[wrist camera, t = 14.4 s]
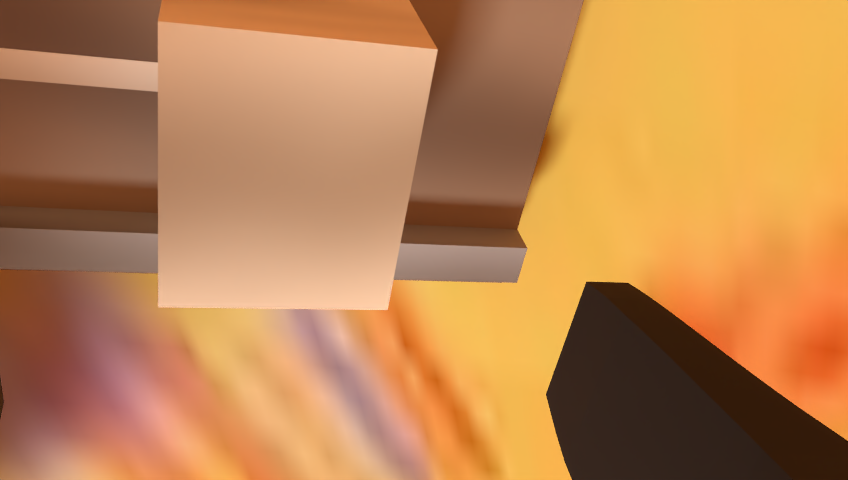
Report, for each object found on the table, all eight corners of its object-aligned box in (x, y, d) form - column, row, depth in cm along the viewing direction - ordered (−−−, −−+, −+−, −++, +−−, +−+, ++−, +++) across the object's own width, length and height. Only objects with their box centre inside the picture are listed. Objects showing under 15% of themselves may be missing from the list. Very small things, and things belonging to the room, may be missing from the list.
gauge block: (358, 197, 18) (387, 309, 15) (170, 188, 17) (157, 307, 14) (392, -28, 15) (437, 49, 12) (172, -56, 14) (158, 20, 11)
